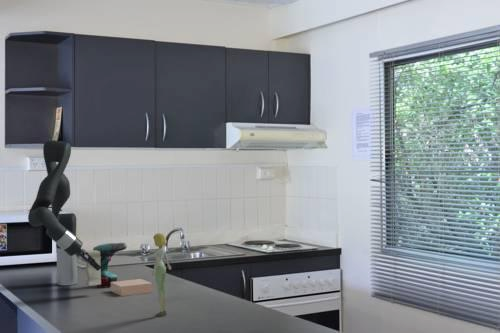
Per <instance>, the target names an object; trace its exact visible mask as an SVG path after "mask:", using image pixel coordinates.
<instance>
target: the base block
mask: <svg viewBox="0 0 500 333" xmlns="http://www.w3.org/2000/svg"><path fill="white" fill-rule="evenodd" d="M110 292H112V293H114V294H116V295H118V296H120V297H124V296H125V297H126V296H133V295H142V294H150V293H151V294H152V293H153V282H150V281H147V280H145V279H142V278H137V279H126V280H119V281H118V280H117V281H116V282H111V287H110Z"/></svg>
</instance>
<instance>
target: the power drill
mask: <svg viewBox="0 0 500 333" xmlns="http://www.w3.org/2000/svg"><path fill="white" fill-rule="evenodd" d="M127 247H128V246H127V243H125V242H108V243H104V244H103V243H102V244H99V245H96V246H94V247H93V249H92V251H94V250H97V251H100V263H101V284H100V285H96V288H111V282H116V281H118V275H117V274H114V273H111V272H109V270H108V269H109V263H110V262H111V261H112V260H113V259H112V257H113V256H114V255H115V254H116V253H117V252H121V251H124V250H126V249H127Z"/></svg>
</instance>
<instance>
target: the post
mask: <svg viewBox="0 0 500 333" xmlns="http://www.w3.org/2000/svg"><path fill="white" fill-rule="evenodd" d="M86 251H87V253H88V254H89V255H91V257H92V258H93V259H95V262H96V263H97V264H98V265H100V266H101V263H100V259H101V257H100V251H97V250H94V251H93V250H86ZM91 261H92V260H90V261H89V262H91ZM85 284H86V285H88V286H91V287H92V286H97V285H100V284H101V268H100V269H99V270H98V271H97V270H96V269H95V268H94V267H93V266H91V265H90V264H89V263H86V262H85Z"/></svg>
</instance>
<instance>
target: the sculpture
mask: <svg viewBox="0 0 500 333" xmlns="http://www.w3.org/2000/svg"><path fill="white" fill-rule="evenodd" d="M153 241H154V246H156V247H159V248H158V249H157V250H156V251H155V252H154V253H153V256H154V258H155V260H154V264H153V269H152V270H151V271H150V272H151V276H154V277H155V284H156V289H157V294H158V304H159V307H160V311H159V312H158V313H156V314H154V316H155V317H164V316H167V312H166V311H167V310H166V306H167V292H166V291H165V282H166V279H167V278H166V277H167V269H168V270H170V271H171V270H172V265H171V264H170V263H169V258H168V256H167V253H166V250H165V247H164V246H166V244H168V243H167V242H168V240H167V239H166V236H165V235H164V233H161V232H158V233H156V234H155V233H154V236H153ZM163 260H165V262H166V264H167V266H166V264H164V262H163Z"/></svg>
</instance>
